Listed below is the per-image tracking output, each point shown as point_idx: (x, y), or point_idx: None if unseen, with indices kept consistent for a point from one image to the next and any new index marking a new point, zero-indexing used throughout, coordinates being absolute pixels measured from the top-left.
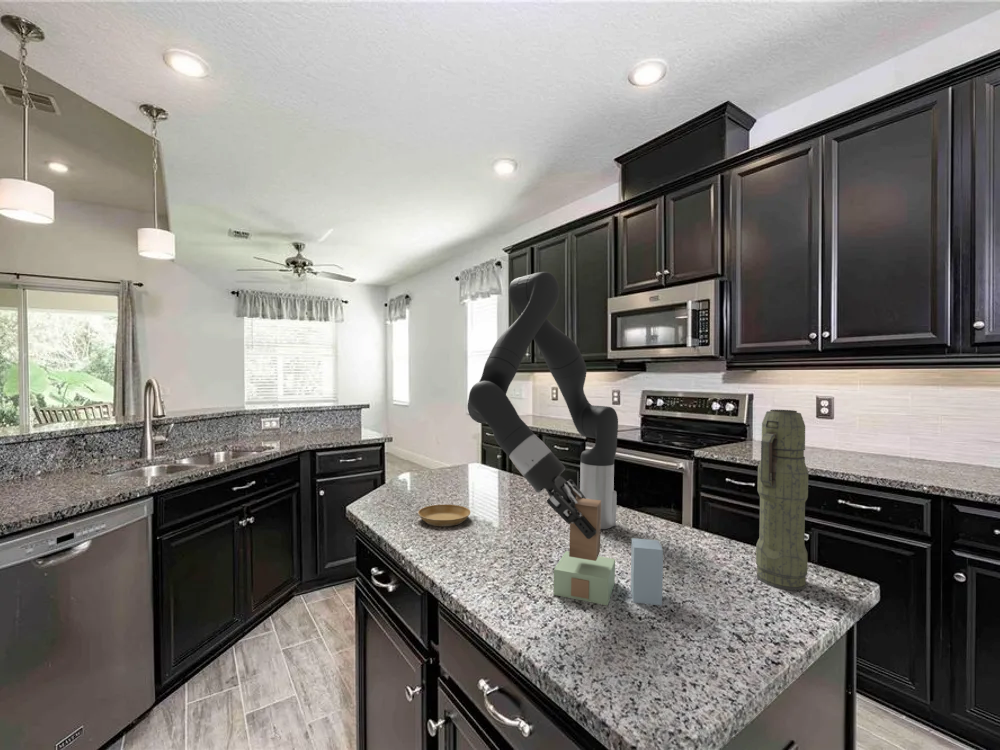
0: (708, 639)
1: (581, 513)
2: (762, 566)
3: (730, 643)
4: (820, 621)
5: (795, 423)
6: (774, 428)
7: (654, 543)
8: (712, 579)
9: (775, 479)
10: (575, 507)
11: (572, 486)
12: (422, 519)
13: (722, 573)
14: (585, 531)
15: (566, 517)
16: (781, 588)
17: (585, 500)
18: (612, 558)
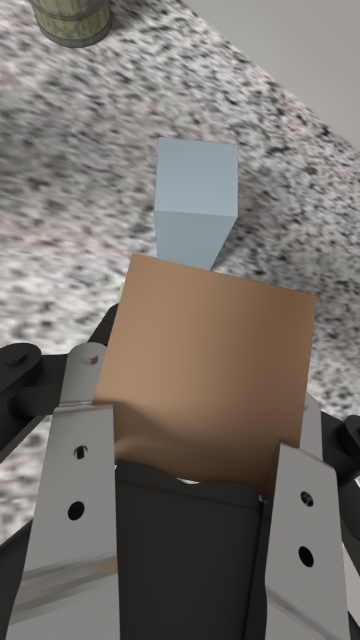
0: (294, 190)
1: (306, 398)
2: (76, 7)
3: (296, 166)
4: (207, 34)
5: None
6: None
7: (190, 154)
8: (86, 119)
9: None
10: (320, 450)
11: (60, 594)
12: None
13: (55, 94)
14: None
15: (345, 487)
16: (108, 31)
17: (162, 372)
18: (120, 288)
